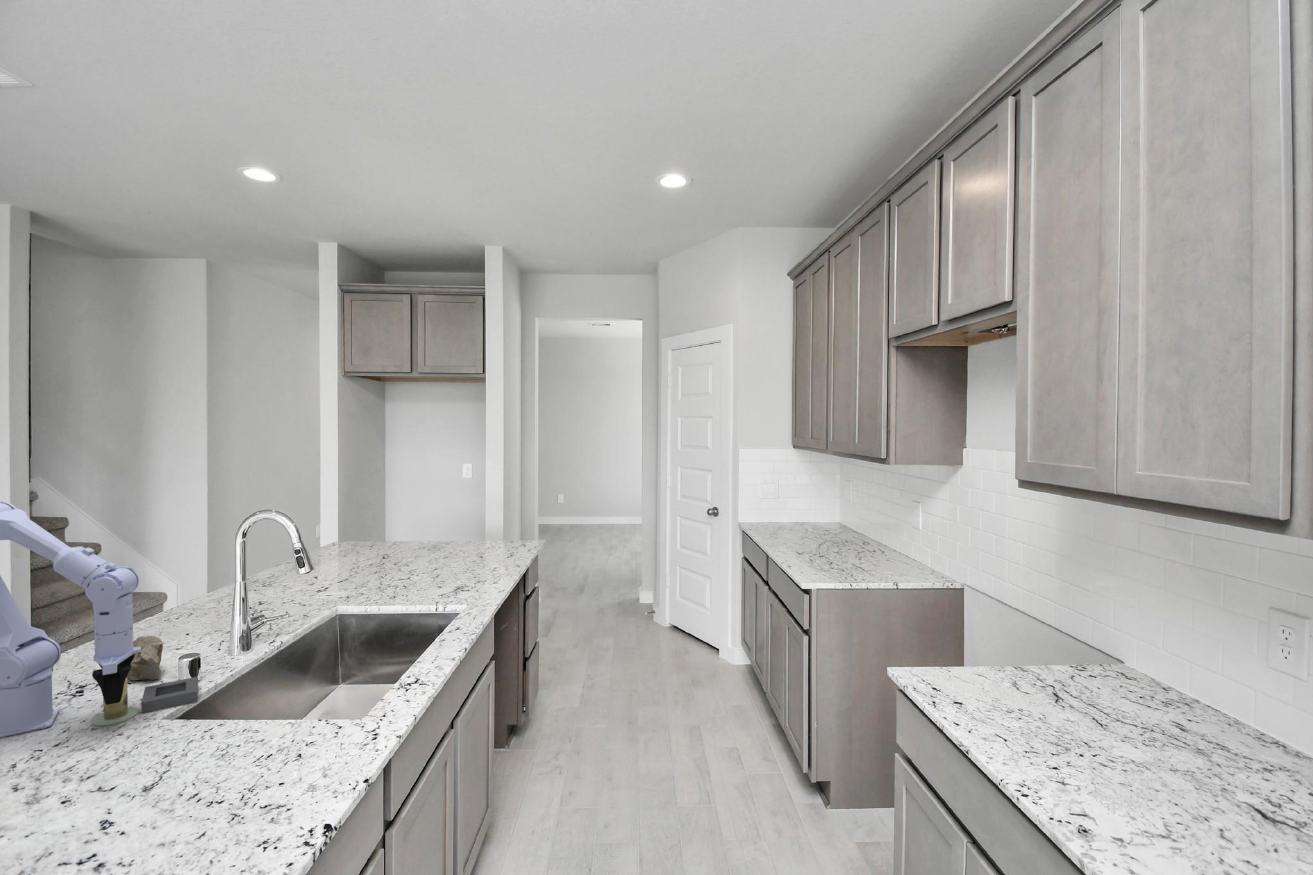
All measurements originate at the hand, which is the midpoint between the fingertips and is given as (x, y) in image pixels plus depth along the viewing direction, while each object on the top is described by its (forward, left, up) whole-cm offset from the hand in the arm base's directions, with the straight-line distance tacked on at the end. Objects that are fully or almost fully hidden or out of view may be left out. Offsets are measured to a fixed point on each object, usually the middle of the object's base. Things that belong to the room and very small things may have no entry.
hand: (115, 697), depth 119 cm
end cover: (0, 0, -4) cm, 4 cm away
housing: (+8, +4, -4) cm, 10 cm away
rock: (+3, +22, -4) cm, 23 cm away
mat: (0, 0, -4) cm, 4 cm away
